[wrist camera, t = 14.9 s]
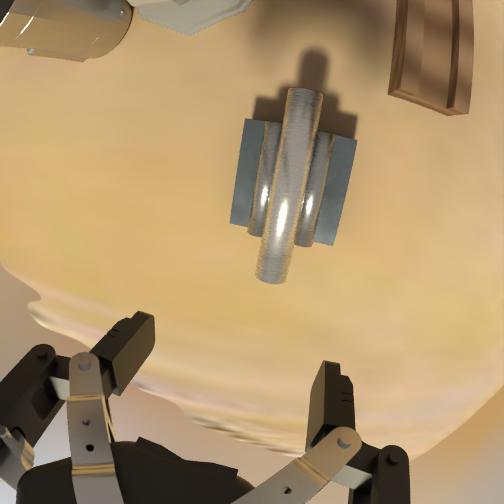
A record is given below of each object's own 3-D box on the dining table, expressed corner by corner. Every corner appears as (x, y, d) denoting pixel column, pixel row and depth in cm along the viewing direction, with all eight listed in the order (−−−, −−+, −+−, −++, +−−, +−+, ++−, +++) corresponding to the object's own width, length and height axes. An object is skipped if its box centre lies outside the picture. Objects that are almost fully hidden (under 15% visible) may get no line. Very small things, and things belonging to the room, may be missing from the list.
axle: (287, 274, 28) (284, 287, 25) (258, 267, 28) (251, 279, 26) (323, 98, 22) (323, 91, 20) (290, 93, 23) (286, 85, 20)
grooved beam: (447, 115, 23) (468, 113, 19) (387, 94, 24) (400, 87, 19) (453, -6, 17) (470, -21, 12) (398, -28, 17) (407, -48, 13)
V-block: (331, 235, 30) (334, 253, 26) (237, 215, 32) (223, 229, 27) (353, 140, 26) (360, 140, 22) (252, 120, 28) (239, 117, 23)
